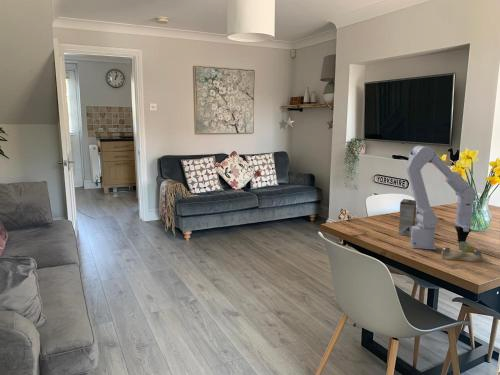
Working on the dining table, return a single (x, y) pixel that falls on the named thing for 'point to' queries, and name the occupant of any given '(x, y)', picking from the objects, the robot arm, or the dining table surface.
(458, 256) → the bench stop
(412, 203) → the coffee box
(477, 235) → the dining table surface
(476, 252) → the bench dogs
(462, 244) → the medication box
